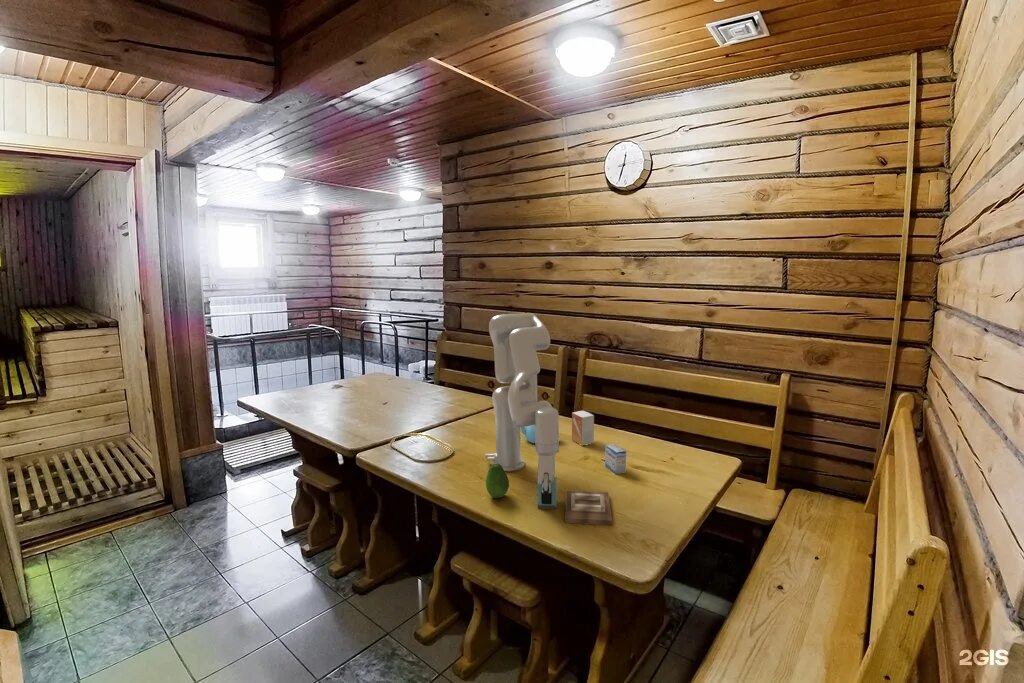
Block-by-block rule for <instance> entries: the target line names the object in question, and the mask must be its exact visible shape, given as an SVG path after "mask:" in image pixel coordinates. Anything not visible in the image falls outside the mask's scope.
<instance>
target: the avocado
mask: <svg viewBox="0 0 1024 683" xmlns="http://www.w3.org/2000/svg"><path fill="white" fill-rule="evenodd" d="M485 487H486V490H487V493H488V494H489V496H490V497H492V498H495V499H497V498H498V499H499V498H502V497H504V496H506V494H507V493H508V490H509V488H510V480H509V478H508V475H507V473H506V471H504V469H503V467H502V466H501V465H500V464H498V463H494V464H493V463H492V464H491V465H490V466H489V467H488V470H487V474H486V477H485Z"/></svg>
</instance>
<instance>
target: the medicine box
mask: <svg viewBox="0 0 1024 683" xmlns="http://www.w3.org/2000/svg"><path fill="white" fill-rule="evenodd" d="M604 450H605V452H604V453H605V456H604V457H605V458H604V467H606V468H607V469H608V470H609V469H610V472H613V473H614V474H615V475H618V474H624V473H626V471H627V470H626V469H627V450H625V449H623V448H622V447H620V446H619V445H617V444H615V443H613V444H607V445H605V449H604Z"/></svg>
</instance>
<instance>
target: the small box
mask: <svg viewBox="0 0 1024 683" xmlns="http://www.w3.org/2000/svg"><path fill="white" fill-rule="evenodd" d="M594 428H595V415H594V414H592V413H591V412H587V411H585V410H578V411H574V412H571V441H572V440H573V442H574V441H575V442H574V443H576V442H577V443H576V444H578V443H579V444H581V445H586V444H590V443H594V444H595V442H594V441H595V439H594V437H595V435H594V434H595V429H594ZM579 444H578V445H579ZM581 445H580V446H581ZM590 445H591V444H590ZM586 446H587V445H586Z"/></svg>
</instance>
